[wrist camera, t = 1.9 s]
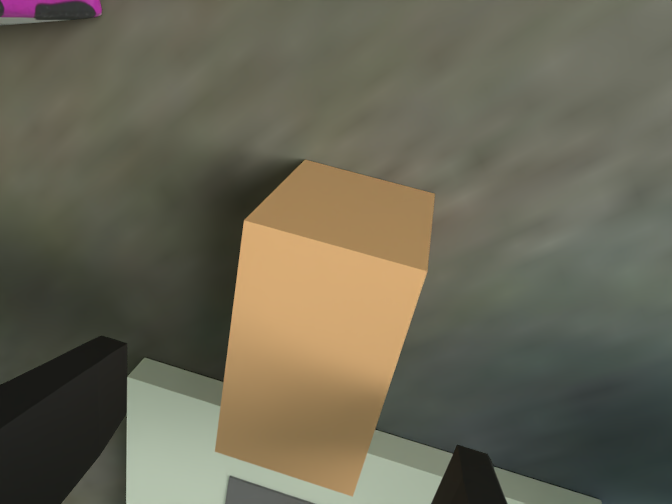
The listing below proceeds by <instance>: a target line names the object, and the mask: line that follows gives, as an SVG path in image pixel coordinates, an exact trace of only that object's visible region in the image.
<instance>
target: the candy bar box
mask: <svg viewBox="0 0 672 504" xmlns="http://www.w3.org/2000/svg"><path fill="white" fill-rule="evenodd" d="M101 14H102V8H101V3H100V0H0V25H13V24H25V23H38V22H50V21H63V20H76V19H85V18H93V17H97V16H100V15H101Z"/></svg>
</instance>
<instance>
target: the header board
mask: <svg viewBox="0 0 672 504" xmlns="http://www.w3.org/2000/svg"><path fill="white" fill-rule="evenodd" d="M223 383H224V382H221V381H218V380H215V379H212V378H208V377H205V376H202V375H199V374H196V373H192V372H189V371H186V370H183V369H180V368H176V367H173V366H170V365H167V364H164V363H160V362H157V361H154V360H151V359H148V358H144V359H143V360H142V361H141V362H140V363H139V364H138V365H137V366H136V368H135V369H134V370H133V371H132V372H131V373H130V374H129V375H128V377H127V462H126V504H431V503H432V500H433V498H434V496H435V494H436V491H437V489H438V487H439V485H440V482H441V480H442V478H443V476H444V473H445V471H446V469H447V467H448V464H449V462H450V460H451V458H452V456H453V454H452V453H449V452H445V451H442V450H439V449H436V448H433V447H429V446H426V445H423V444H420V443H417V442H413V441H410V440H407V439H404V438H401V437H397V436H394V435H391V434H388V433H385V432H381V431H378V430H375V431H374V434H373V437H372V440H371V443H370V446H369V449H368V452H367V455H366V458H365V461H364V464H363V467H362V470H361V474H360V477H359V480H358V483H357V486H356V489H355V492H354V495H353V497H352V496H349V495H346V494H343V493H340V492H337V491H334V490H331V489H328V488H325V487H321V486H318V485H315V484H312V483H309V482H306V481H303V480H300V479H297V478H294V477H291V476H288V475H285V474H282V473H279V472H276V471H273V470H269V469H266V468H263V467H260V466H257V465H254V464H251V463H248V462H245V461H242V460H239V459H236V458H233V457H230V456H227V455H224V454H221V453H217V452H215V446H216V438H217V430H218V422H219V414H220V406H221V398H222V390H223ZM494 470H495V473H496V475H497V478H498V481H499V483H500V486H501V488H502V491H503V493H504V496H505V498H506V501H507V503H508V504H602V502H601V500H599V499H596V498H593V497H589V496H586V495H583V494H580V493H577V492H573V491H570V490H567V489H564V488H561V487H557V486H554V485H551V484H548V483H545V482H541V481H538V480H535V479H532V478H529V477H525V476H522V475H519V474H516V473H513V472H509V471H506V470H503V469H500V468H497V467H494Z"/></svg>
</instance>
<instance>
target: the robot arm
mask: <svg viewBox="0 0 672 504" xmlns="http://www.w3.org/2000/svg"><path fill="white" fill-rule="evenodd" d="M126 413H127V343H124V342H121V341H117V340H114V339H111V338H108V337H104V336H99V337H97V338H95V339H93V340H91V341H89V342H87V343H85V344H83V345H81V346H79V347H77V348H75V349H73V350H71V351H69V352H67V353H65V354H63V355H61V356H59V357H57V358H55V359H53V360H51V361H49V362H47V363H45V364H43V365H41V366H39V367H37V368H34V369H32V370H30V371H28V372H26V373H24V374H22V375H20V376H18V377H16V378H14V379H12V380H10V381H8V382H6V383H4V384H1V385H0V504H61V503H62V502H63V500H64V499H65V498H66V497H67V496H68V494H69V493H70V492H71V491H72V489H73V488H74V487H75V486H76V484H77V483H78V482H79V481H80V479H81V478H82V477H83V476H84V474H85V473H86V472H87V471H88V470H89V468H90V467H91V466H92V465H93V463H94V462H95V461H96V459H97V458H98V457H99V456H100V454H101V453H102V451H103V450H104V448H105V446H106V445H107V443H108V442H109V440H110V439H111V437H112V436H113V434H114V433H115V431H116V429H117V428H118V426H119V424H120V423H121V421H122V420H123V418H124V416H125V415H126ZM431 504H508V503H507V501H506V498H505V496H504V493H503V491H502V488H501V486H500V483H499V481H498V478H497V475H496V473H495V470H494V467H493V465H492V462H491V460H490V458H489V456H488V454H486V453H483V452H479V451H476V450H473V449H470V448H466V447H463V446H460V445H457V447H456V449H455V451H454V453H453V456H452V458H451V460H450V462H449V464H448V467H447V469H446V471H445V473H444V476H443V478H442V480H441V482H440V485H439V487H438V489H437V491H436V494H435V496H434V498H433V500H432V503H431Z"/></svg>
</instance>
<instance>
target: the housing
mask: <svg viewBox="0 0 672 504" xmlns="http://www.w3.org/2000/svg"><path fill="white" fill-rule="evenodd" d="M434 198H435V194H434V193H430V192H426V191H422V190H419V189H415V188H411V187H407V186H403V185H400V184H396V183H392V182H388V181H384V180H381V179H377V178H373V177H369V176H365V175H362V174H358V173H354V172H350V171H346V170H343V169H339V168H335V167H331V166H327V165H324V164H320V163H316V162H312V161H308V160H304V161H303V162H302V163H301V164H300V165H299V166H298V167H297V168H296V169H295V170H294V171H293V172H292V173H291V174H290V175H289V176H288V177H287V178H286V179H285V180H284V181H283V182H282V183H281V184H280V185H279V186H278V187H277V188H276V189H275V190H274V191H273V192H272V193H271V194H270V195H269V196H268V197H267V198H266V199H265V200H264V201H263V202H262V203H261V204H260V205H259V206H258V207H257V208H256V209H255V210H254V211H253V212H252V213H251V214H250V215H249V216H248V217H247V218H246V219H245V220H244V224H243V232H242V240H241V248H240V256H239V264H238V272H237V280H236V288H235V295H234V303H233V311H232V319H231V327H230V335H229V343H228V351H227V359H226V367H225V375H224V383H223V390H222V398H221V406H220V414H219V422H218V430H217V438H216V446H215V452H217V453H221V454H224V455H227V456H230V457H233V458H236V459H239V460H242V461H245V462H248V463H251V464H254V465H257V466H260V467H263V468H266V469H269V470H273V471H276V472H279V473H282V474H285V475H288V476H291V477H294V478H297V479H300V480H303V481H306V482H309V483H312V484H315V485H318V486H321V487H325V488H328V489H331V490H334V491H337V492H340V493H343V494H346V495H349V496H352V497H353V495H354V492H355V489H356V486H357V483H358V480H359V477H360V474H361V470H362V467H363V464H364V461H365V458H366V455H367V452H368V449H369V446H370V443H371V440H372V437H373V434H374V431H375V428H376V425H377V422H378V419H379V416H380V413H381V410H382V407H383V404H384V401H385V398H386V395H387V392H388V389H389V386H390V383H391V380H392V377H393V374H394V371H395V368H396V365H397V362H398V358H399V355H400V352H401V349H402V346H403V343H404V340H405V337H406V334H407V331H408V328H409V325H410V322H411V319H412V316H413V313H414V310H415V307H416V304H417V301H418V298H419V295H420V292H421V289H422V286H423V283H424V280H425V277H426V274H427V269H428V259H429V249H430V239H431V228H432V218H433V208H434Z"/></svg>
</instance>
